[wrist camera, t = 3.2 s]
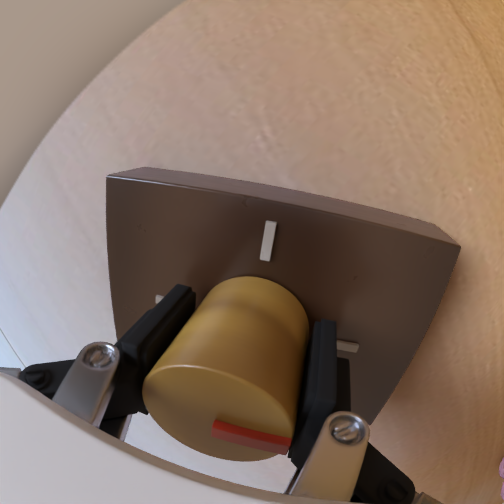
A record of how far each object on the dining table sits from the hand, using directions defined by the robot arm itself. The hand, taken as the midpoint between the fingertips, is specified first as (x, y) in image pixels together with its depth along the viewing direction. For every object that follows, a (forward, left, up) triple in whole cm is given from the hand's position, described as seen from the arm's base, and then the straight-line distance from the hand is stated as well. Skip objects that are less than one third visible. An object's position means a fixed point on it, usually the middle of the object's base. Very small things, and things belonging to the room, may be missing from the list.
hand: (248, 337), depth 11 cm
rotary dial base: (0, 0, -4) cm, 4 cm away
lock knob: (0, 0, -1) cm, 1 cm away
